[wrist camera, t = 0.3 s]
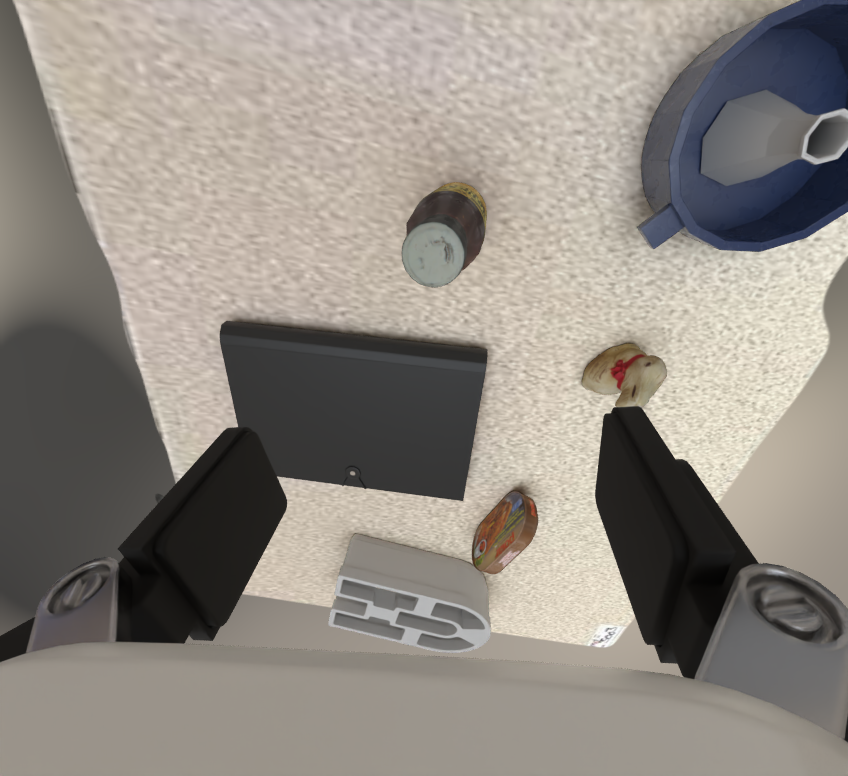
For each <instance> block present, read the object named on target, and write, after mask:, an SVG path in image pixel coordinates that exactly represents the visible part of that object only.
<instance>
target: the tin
mask: <svg viewBox="0 0 848 776" xmlns="http://www.w3.org/2000/svg"><path fill="white" fill-rule="evenodd" d="M537 525H538V514H537V508H536V505H535V503H534V501H533V500H532V499H531V498H530V497H528V496H525V495H523V494H521V493H519V492H517V491H513V492H510V493H509V494H507V495H506V496H505V497H504V498H503V499H502V501H501V502H500V503H499V504H498V505H497V506H496V507H495V508H494V509H493V510H492V512H491V513H490V514H489V515H488V516H487V517H486V518H485V519H484V520H483V521H482V523H481V524H480V525H479V527H478V529H477V531H476V534H475V536H474V540H473V545H472V561H473V565H474V567H475V568H476V569H477V570H478V571H483V572H486V573H489V574H497V573H499V572H500V571H502V570H503V569H504V568H505V567H506V566H507V565H508V564H509V563H510V562H511V561H512V560H513V559H514V558H515V557H516V556H518V555H519V554H520V553H521V552H522V551H523V550H524V549H525V548H526V547H527V546H528V545H529V544H530V543H531V541H532V539H533V537H534V535H535V533H536V530H537Z"/></svg>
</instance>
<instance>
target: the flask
mask: <svg viewBox="0 0 848 776" xmlns="http://www.w3.org/2000/svg"><path fill="white" fill-rule="evenodd" d="M847 147H848V110H846V109H839V110H835V111H832V112H828V113H825V114H821V115H818V116H817V115H812V114H807V113H805V112H804V111H802V110H801V109H800V108H799V107H797V106H796V105H794V104H792V103H791V102H789V101H787V100H785V99H783V98H781V97H779V96H777V95H775V94H773V93H771V92H770V91H768V90H763V91H760V92H756V93H753V94H750V95H747V96H743V97H740V98H737V99H734V100H730V101H727V103H726V104H725V106H724V107H723V109H722V110H721V112H720V113H719V115H718V116H717V118H716V119H715V121H714V122H713V124H712V125H711V127H710V128H709V130H708V131H707V133H706V134H705V136H704V137H703V144H702V159H701V174H703V175H705V176H707V177H709V178H711V179H713V180H715V181H717V182H719V183H721V184H723V185H725V186H729V185H733V184H737V183H741V182H744V181H748V180H752V179H756V178H760V177H763V176H765V175H767V174H769V173H771V172H772V171H774V170H776V169H778V168H780V167H782V166H784V165H786V164H788V163H790V162H792V161H794V160H797V159H804V160H806V161H808V162H809V163H811V164H814V165H815V164H820V163H824V162H828V161H831V160H835V159H838V158H839V157H840V156H841V155H842V153H843V152H844V151H845V150H846V149H847Z"/></svg>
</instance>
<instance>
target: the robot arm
mask: <svg viewBox="0 0 848 776" xmlns="http://www.w3.org/2000/svg"><path fill="white" fill-rule="evenodd" d="M595 498H596V504H597V508H598V511H599V513H600V516H601V519H602V522H603V525H604V528H605V531H606V534H607V536H608V539H609V542H610V545H611V548H612V551H613V554H614V557H615V559H616V562H617V565H618V568H619V571H620V574H621V577H622V580H623V582H624V585H625V588H626V591H627V594H628V597H629V600H630V603H631V605H632V608H633V611H634V614H635V617H636V620H637V622H638V625H639V628H640V631H641V634H642V637H643V639H644V641H645V643H646V644H647V645H654V646H655V648H656V651H657V654H658V656H659V659H660V662H661V663H677V664H678V666H679V668H680V670H681V673H682V675H683V677H680V676H675V675H670V674H663V673H655V672H647V671H639V670H630V669H622V668H610V667H596V666H583V665H569V664H555V663H542V662H529V661H528V662H527V661H510V660H493V659H476V658H475V659H474V658H458V657H440V656H423V655H405V654H386V653H364V652H346V651H327V650H307V649H286V648H267V647H245V646H222V645H200V644H184V643H185V641H186V639H187V638H188V636H189V635H190V637H191V638H192V639H193V640H209V641H213V639H214V638H215V636H216V634H217V632H218V630H219V628H220V627H221V626H223V625H224V624H225V623H226V622H227V620H228V619H229V617H230V615H231V613H232V612H233V610H234V608H235V606H236V604H237V602H238V600H239V598H240V596H241V594H242V593H243V591H244V589H245V587H246V585H247V583H248V581H249V579H250V577H251V576H252V574H253V572H254V570H255V568H256V566H257V564H258V562H259V560H260V558H261V557H262V555H263V553H264V551H265V549H266V547H267V545H268V543H269V541H270V539H271V538H272V536H273V534H274V532H275V530H276V528H277V526H278V524H279V522H280V521H281V519H282V517H283V515H284V513H285V511H286V508H287V499H286V496H285V494H284V492H283V489H282V487H281V485H280V483H279V480H278V478H277V476H276V474H275V472H274V469H273V467H272V465H271V463H270V460H269V458H268V456H267V454H266V451H265V449H264V447H263V445H262V442H261V440H260V438H259V436H258V434H257V433H256V432H253V431H252V429H250V428H249V427H236V428H227V429H226V430H224V431H223V432H222V433H221V435H220V436H219V437H218V438H217V439H216V440H215V441H214V442H213V443H212V445H211V446H210V447H209V448H208V449H207V450H206V451H205V452H204V453H203V455H202V456H201V457H200V458H199V459H198V460H197V461H196V462H195V463H194V465H193V466H192V467H191V468H190V469H189V470H188V471H187V472H186V473H185V475H184V476H183V477H182V478H181V479H180V480H179V481H178V482H177V483H176V484H175V486H174V487H173V488H172V489H171V490H170V491H169V492H168V493H167V495H166V496H165V497H164V498H163V499H162V500H161V501H160V502H159V503H158V504H157V506H156V507H155V508H154V509H153V510H152V511H151V512H150V513H149V515H148V516H147V517H146V518H145V519H144V520H143V521H142V522H141V523H140V524H139V526H138V527H137V528H136V529H135V530H134V531H133V532H132V533H131V534H130V536H129V537H128V538H127V539H126V540H125V541H124V542H123V543H122V544H121V546H120V547H119V548H118V550H119V551H120V552H121V553H122V555H123V556H124V558H123V559H122V561H121V562H120V563H118V562H117V561H116V560H114V559H113V558H108V557H104V558H98V559H94V560H91V561H89V562H86V563H84V564H82V565H80V566H78V567H77V568H75V569H73V570H71V571H70V572H69V573H67V574H66V575H64V576H63V577H62V578H60V579H59V580H58V581H57V582H56V583H55V584H54V585H53V586H52V587H51V588H50V589H49V590H48V591H47V593H46V594H45V595H44V597H43V598H42V600H41V602H40V604H39V606H38V608H37V613H36V616H35V617H34V618H32V619H30V620H28V621H27V622H25V623H23V624H21V625H19V626H17V627H16V628H14V629H12V630H10V631H8V632H7V633H5V634H3V635H1V636H0V776H848V608H847V607H846V606H845V605H844V604H843V603H842V602H841V601H840V600H839V598H838V597H837V596H836V595H835V594H833V593H832V592H831V591H829V590H828V589H827V588H826V587H824V586H823V585H822V584H820V583H819V582H817V581H815V580H813V579H811V578H810V577H808V576H806V575H804V574H803V573H801V572H797V571H795V570H792V569H790V568H787V567H784V566H779V565H773V564H767V563H763V564H759V563H758V562H757V560H756V559H755V557H754V556H753V555H752V553H751V552H750V550H749V549H748V547H747V546H746V545H745V543H744V542H743V540H742V539H741V537H740V536H739V535H738V533H737V532H736V530H735V529H734V527H733V526H732V524H731V523H730V521H729V520H728V519H727V517H726V516H725V514H724V513H723V511H722V510H721V508H719V506H718V504H717V503H716V501H715V500H714V498H713V497H712V496H711V494H710V493H709V491H708V490H707V488H706V487H705V485H704V484H703V483H702V481H701V480H700V478H699V477H698V475H697V474H696V472H695V471H694V470H693V468H692V467H691V466H690V464H689V463H688V462H687V461H685V460H683V459H676V460H675V458H674V456H673V455H672V453H671V452H670V450H669V449H668V447H667V446H666V444H665V443H664V441H663V440H662V438H661V437H660V435H659V434H658V432H657V431H656V429H655V428H654V426H653V425H652V423H651V422H650V420H649V418H648V417H647V415H646V414H645V412H644V411H643V409H642V408H641V407H639V406H630V407H614V408H613V409H612V412H611V413H609V414H605V415H604V419H603V427H602V436H601V445H600V454H599V463H598V472H597V481H596V490H595Z"/></svg>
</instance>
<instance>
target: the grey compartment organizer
mask: <svg viewBox="0 0 848 776" xmlns="http://www.w3.org/2000/svg"><path fill="white" fill-rule="evenodd" d="M376 587H377V588H376ZM379 588H381V589H379ZM383 589H385V590H383ZM387 590H389V591H387ZM391 591H393V592H391ZM395 592H396V593H395ZM335 595H336V599H335V600H334V602H333V606H332V609H331V613H330V618H329V623H328V625H329V626H332V627H337V628H341V629H345V630H349V631H353V632H358V633H362V634H366V635H370V636H374V637H378V638H382V639H386V640H391V641H395V642H399V643H403V644H407V645H411V646H415V647H420V648H424V649H428V650H432V651H437V652H445V653H457V652H465V651H470V650H474V649H476V648H478V647H480V646H482V645H483V644H485V643H486V642H487V640H488V639H489V637H490V634H491V625H490V617H489V596H488V587H487V584H486V581H485V578H484V576H483V574H482V573H481V572H480V571H478V570H477V569H476V568H475V567H474V566H473V565H471V564H470V563H468V562H465V561H463V560H460V559H456V558H452V557H448V556H444V555H440V554H436V553H432V552H428V551H424V550H420V549H416V548H412V547H408V546H404V545H400V544H396V543H392V542H388V541H384V540H380V539H376V538H372V537H368V536H364V535H360V534H356V533H355V534H354V536H353V537H352V539H351V541H350V544H349V547H348V550H347V554H346V557H345V560H344V563H343V566H341V569H340V572H339V575H338V579H337V584H336V589H335Z"/></svg>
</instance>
